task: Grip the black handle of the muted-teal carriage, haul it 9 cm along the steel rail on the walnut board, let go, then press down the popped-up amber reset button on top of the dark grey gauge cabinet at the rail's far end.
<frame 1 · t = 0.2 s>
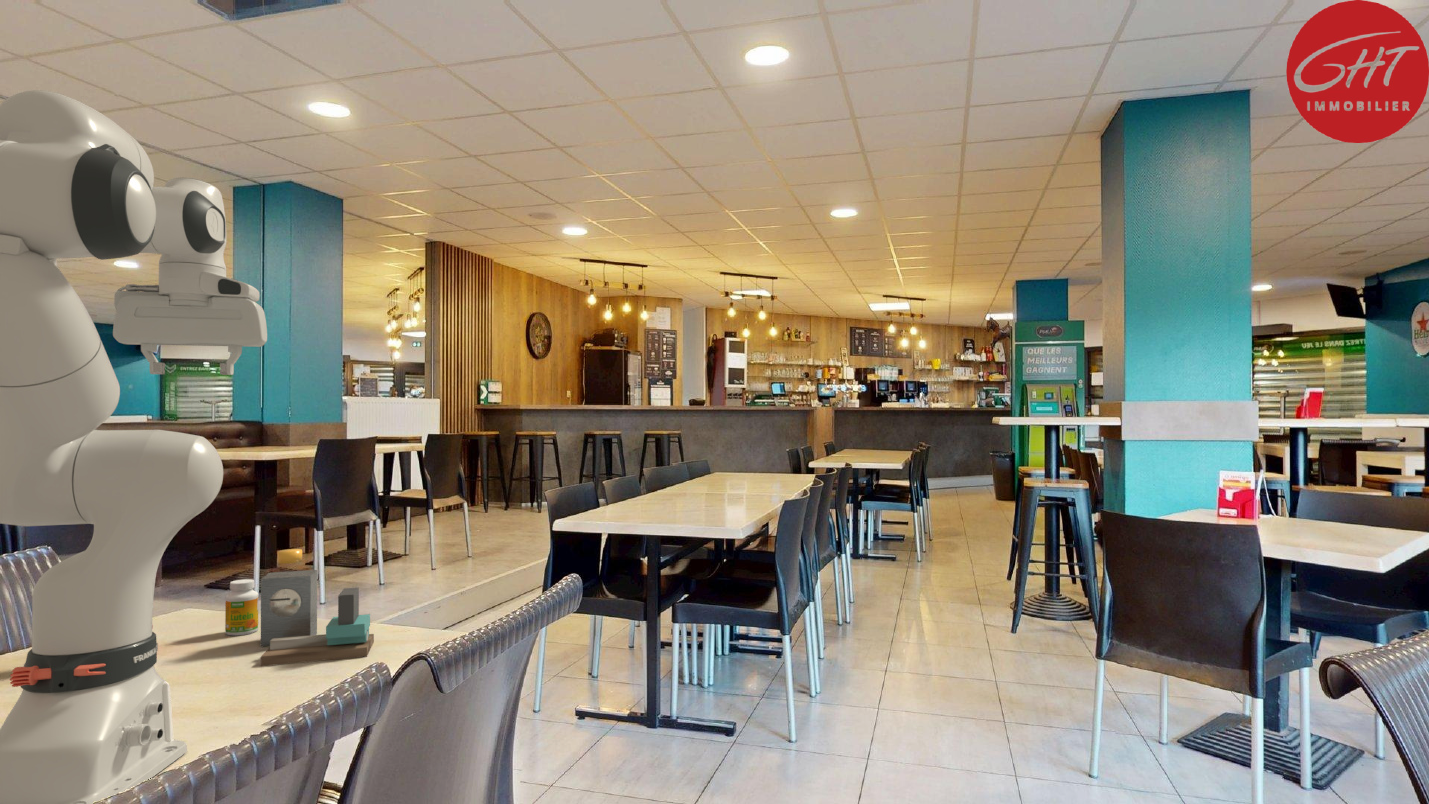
hand: (192, 374, 122), 47 cm above the table, tool pointing down, fingers open, 8 cm apart
gauge cabinet: (289, 640, 142), on the table
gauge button: (289, 556, 143), point 15 cm above the table, slide at 2.0 cm
supplement bottle: (241, 633, 148), on the table
pepper mill: (126, 656, 134), on the table
carriage: (348, 615, 135), point 6 cm above the table, slide at 0.0 cm
rail board: (320, 653, 134), on the table
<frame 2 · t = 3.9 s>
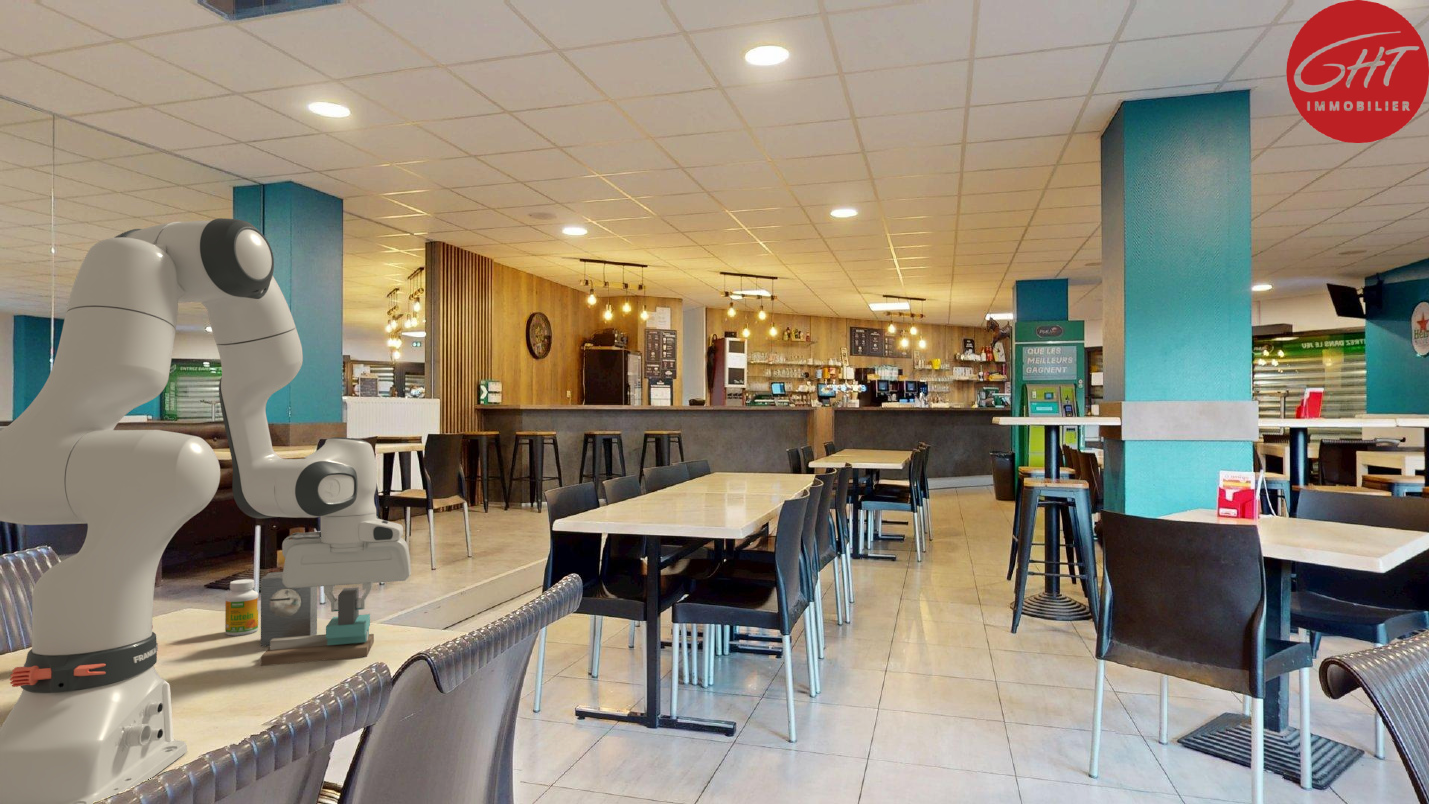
hand: (348, 609, 135), 7 cm above the table, tool pointing down, fingers closed on carriage, 2 cm apart
carriage: (348, 615, 135), point 6 cm above the table, slide at 0.0 cm, touching gripper
everything else where it was.
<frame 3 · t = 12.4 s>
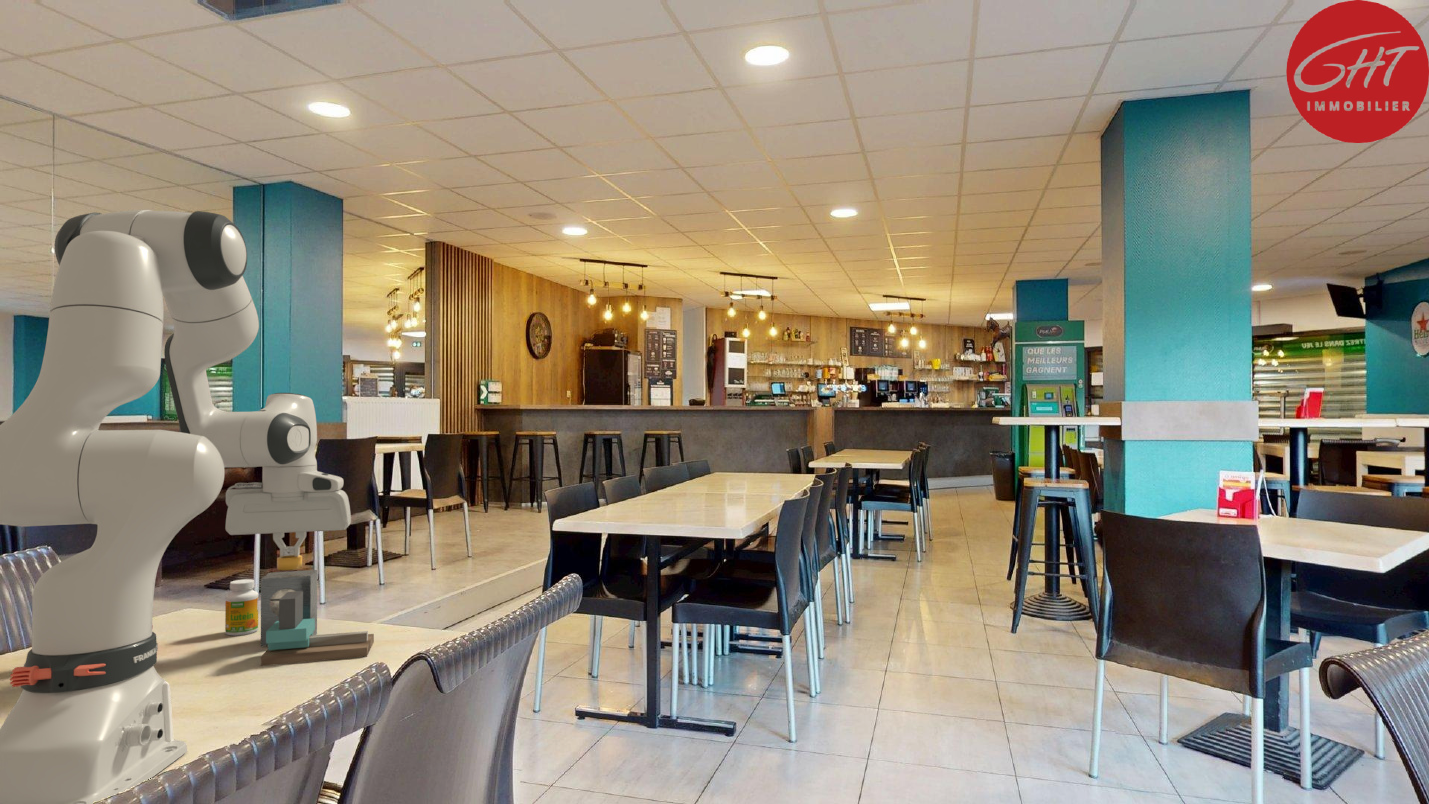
hand: (289, 556, 143), 15 cm above the table, tool pointing down, fingers closed, pressing on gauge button
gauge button: (289, 562, 143), point 14 cm above the table, slide at 0.8 cm, touching gripper
carriage: (291, 620, 133), point 6 cm above the table, slide at 9.0 cm
everything else where it was.
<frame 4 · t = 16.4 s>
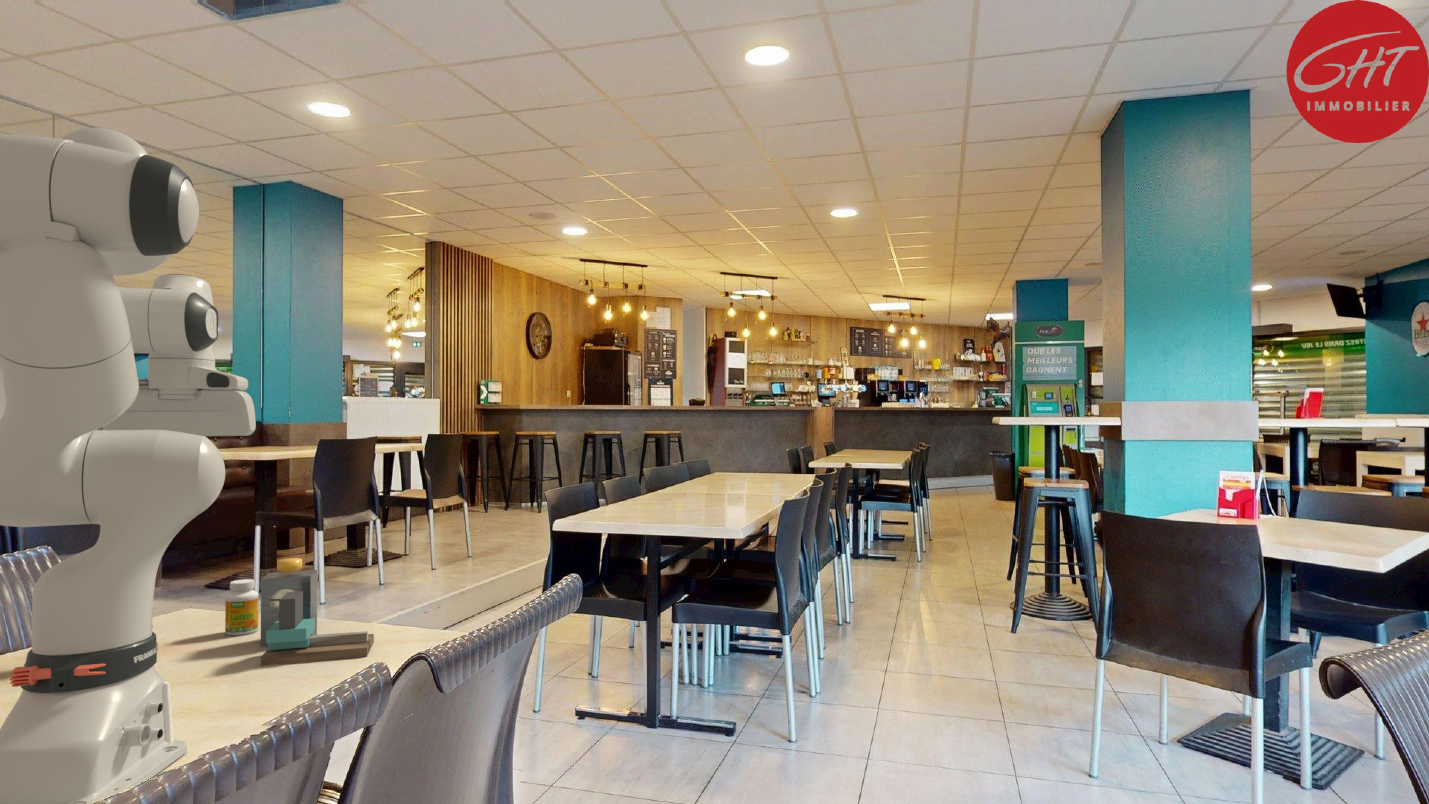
hand: (181, 465, 124), 33 cm above the table, tool pointing down, fingers closed
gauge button: (289, 565, 143), point 14 cm above the table, slide at 0.3 cm
everything else where it was.
at the end: carriage slide at 9.0 cm; the gripper is holding nothing; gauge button slide at 0.3 cm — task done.
